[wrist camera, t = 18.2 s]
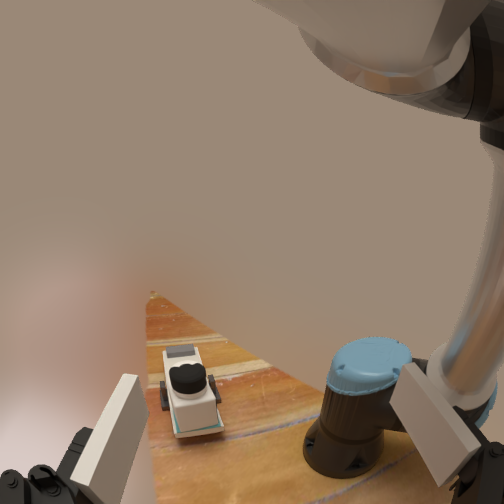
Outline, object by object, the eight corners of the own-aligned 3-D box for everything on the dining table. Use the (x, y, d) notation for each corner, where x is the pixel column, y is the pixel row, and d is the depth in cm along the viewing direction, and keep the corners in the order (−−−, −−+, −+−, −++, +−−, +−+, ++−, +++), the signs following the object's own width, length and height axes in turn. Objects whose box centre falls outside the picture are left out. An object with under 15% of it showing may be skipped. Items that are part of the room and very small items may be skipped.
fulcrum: (160, 393, 55) (156, 376, 54) (215, 386, 59) (213, 369, 58) (162, 410, 50) (158, 393, 49) (221, 402, 54) (219, 385, 53)
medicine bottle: (219, 424, 42) (214, 376, 39) (180, 433, 39) (168, 385, 36) (207, 400, 48) (201, 352, 46) (172, 407, 46) (161, 359, 43)
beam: (163, 355, 65) (161, 346, 65) (197, 351, 68) (196, 342, 67) (175, 438, 40) (172, 428, 39) (224, 430, 42) (223, 421, 42)
